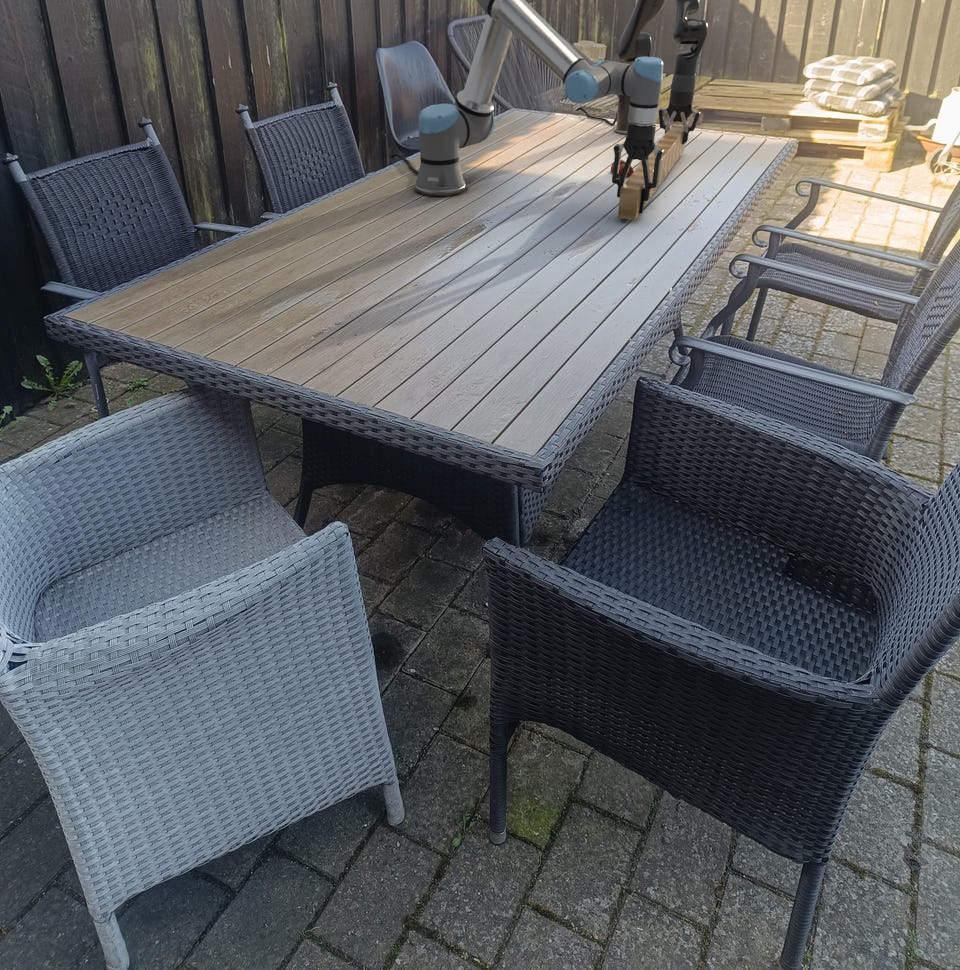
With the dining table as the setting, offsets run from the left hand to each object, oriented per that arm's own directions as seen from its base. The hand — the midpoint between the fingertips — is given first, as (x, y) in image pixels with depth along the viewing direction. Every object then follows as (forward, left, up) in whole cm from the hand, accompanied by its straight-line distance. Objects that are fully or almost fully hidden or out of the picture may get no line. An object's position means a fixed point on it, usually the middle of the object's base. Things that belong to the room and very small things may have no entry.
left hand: (631, 210), depth 236 cm
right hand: (-20, +63, +3) cm, 66 cm away
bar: (-10, +32, -1) cm, 33 cm away
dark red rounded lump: (-24, +35, -2) cm, 43 cm away
